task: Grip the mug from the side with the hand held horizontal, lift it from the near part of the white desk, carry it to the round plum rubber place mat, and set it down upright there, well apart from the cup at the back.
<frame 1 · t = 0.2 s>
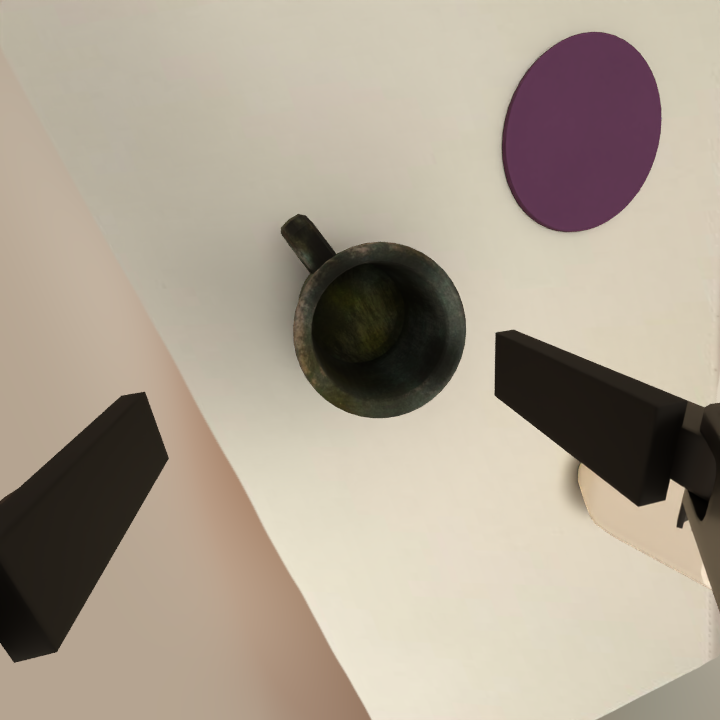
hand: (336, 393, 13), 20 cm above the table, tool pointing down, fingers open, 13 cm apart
mug: (341, 296, 33), on the table
place mat: (581, 140, 33), on the table
cup: (608, 465, 44), on the table
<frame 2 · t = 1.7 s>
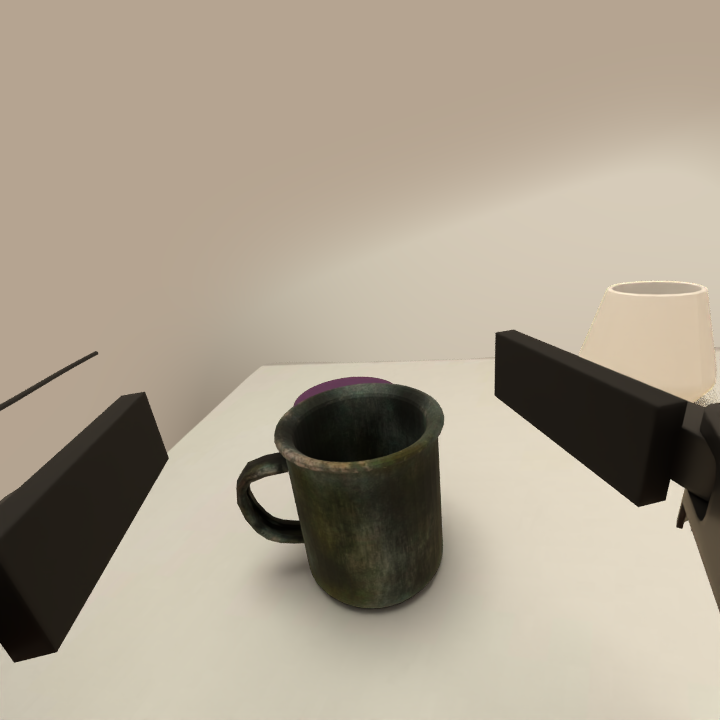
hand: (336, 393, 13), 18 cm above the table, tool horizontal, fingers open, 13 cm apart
mug: (355, 556, 27), on the table
place mat: (347, 401, 52), on the table
cup: (634, 399, 44), on the table
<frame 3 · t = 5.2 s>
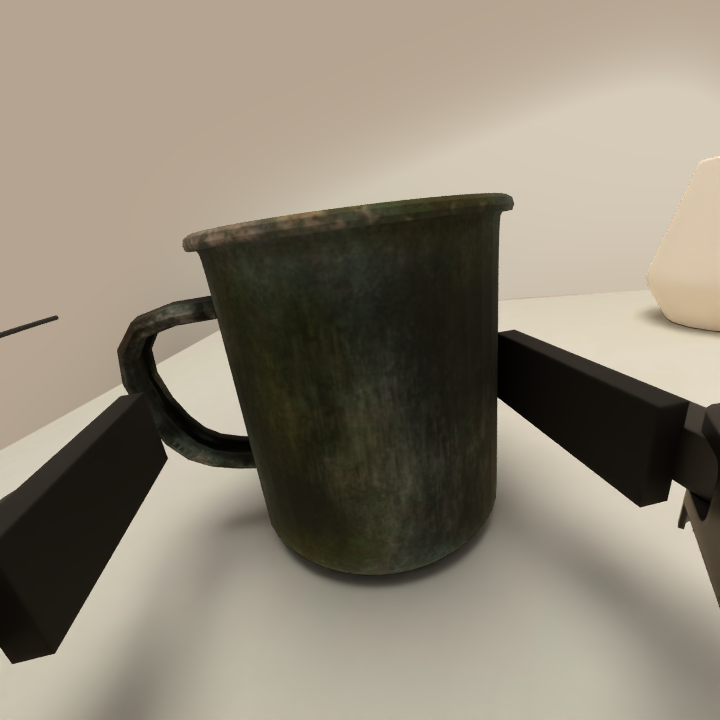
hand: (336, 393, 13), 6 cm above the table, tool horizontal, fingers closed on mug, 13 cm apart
mug: (347, 498, 17), on the table, touching gripper
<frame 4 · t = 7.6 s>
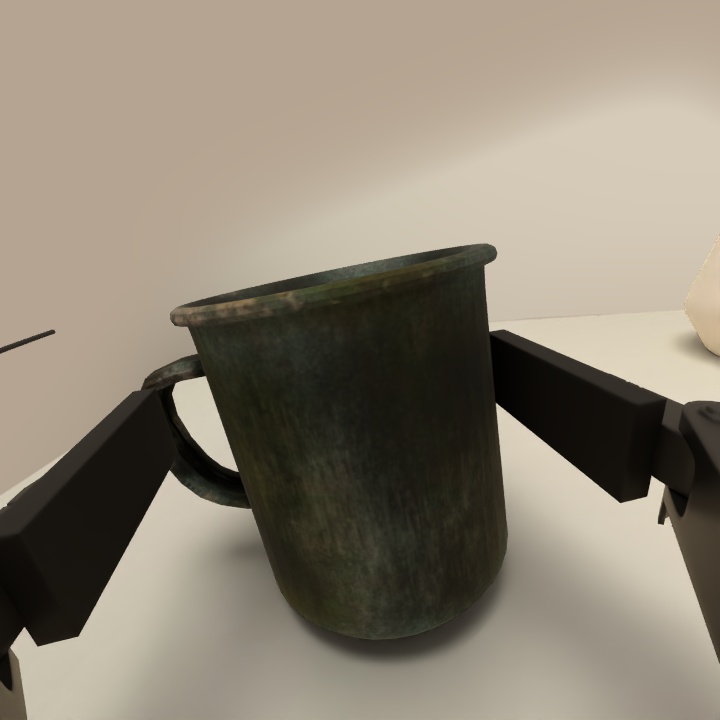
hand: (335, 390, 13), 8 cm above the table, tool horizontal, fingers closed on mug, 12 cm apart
mug: (354, 543, 16), on the table, touching gripper
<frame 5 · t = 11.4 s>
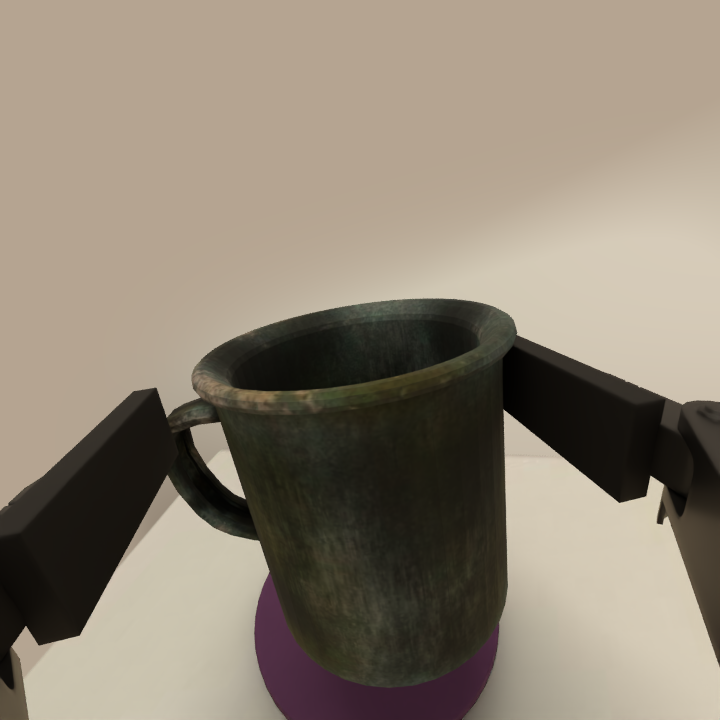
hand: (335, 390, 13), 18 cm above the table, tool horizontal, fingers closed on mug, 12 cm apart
mug: (358, 574, 17), point 8 cm above the table, touching gripper
place mat: (374, 594, 24), on the table
when the fingers open (8 cm above the table, at t = 15.8 s): mug stays where it is, resting on place mat.
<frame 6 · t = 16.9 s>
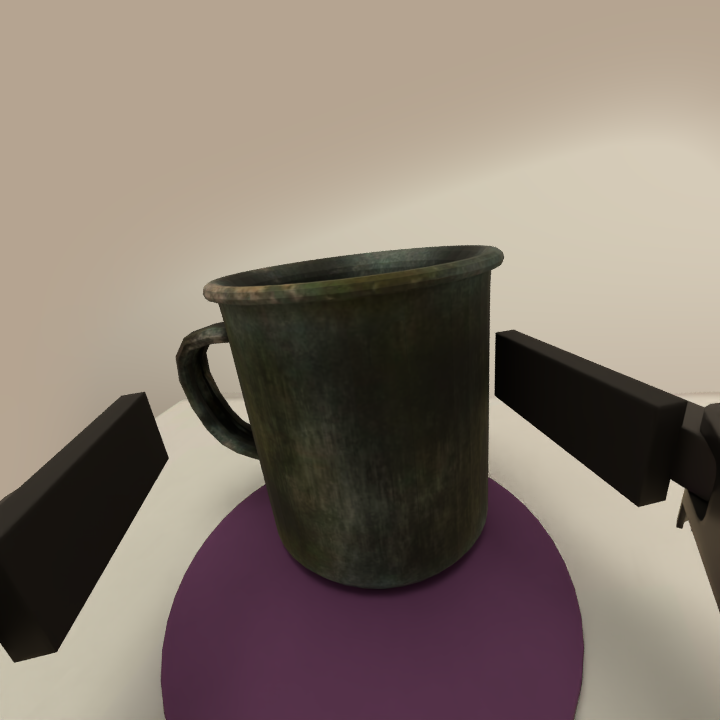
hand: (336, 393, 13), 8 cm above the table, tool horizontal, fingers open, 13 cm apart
mug: (349, 505, 18), resting on place mat
place mat: (366, 566, 15), on the table
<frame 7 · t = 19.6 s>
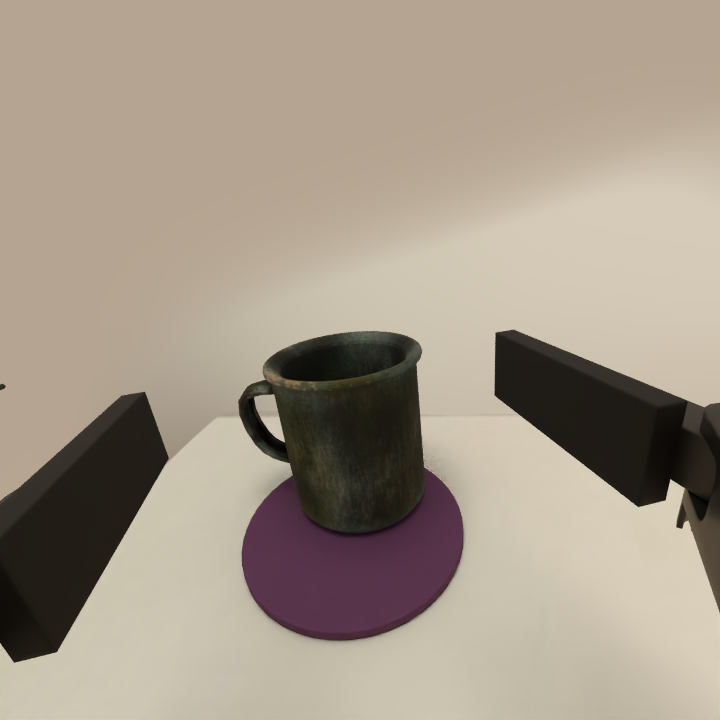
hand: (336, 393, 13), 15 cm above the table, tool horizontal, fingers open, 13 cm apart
mug: (342, 490, 29), resting on place mat
place mat: (352, 524, 26), on the table
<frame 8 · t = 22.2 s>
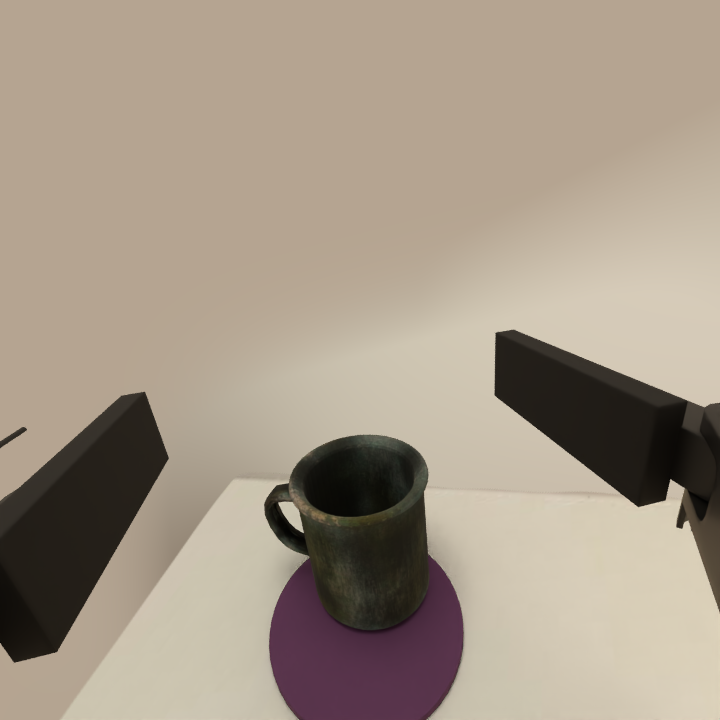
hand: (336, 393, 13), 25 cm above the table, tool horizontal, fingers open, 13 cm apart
mug: (355, 577, 33), resting on place mat
place mat: (365, 616, 30), on the table
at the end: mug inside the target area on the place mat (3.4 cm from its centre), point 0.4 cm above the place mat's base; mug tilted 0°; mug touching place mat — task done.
